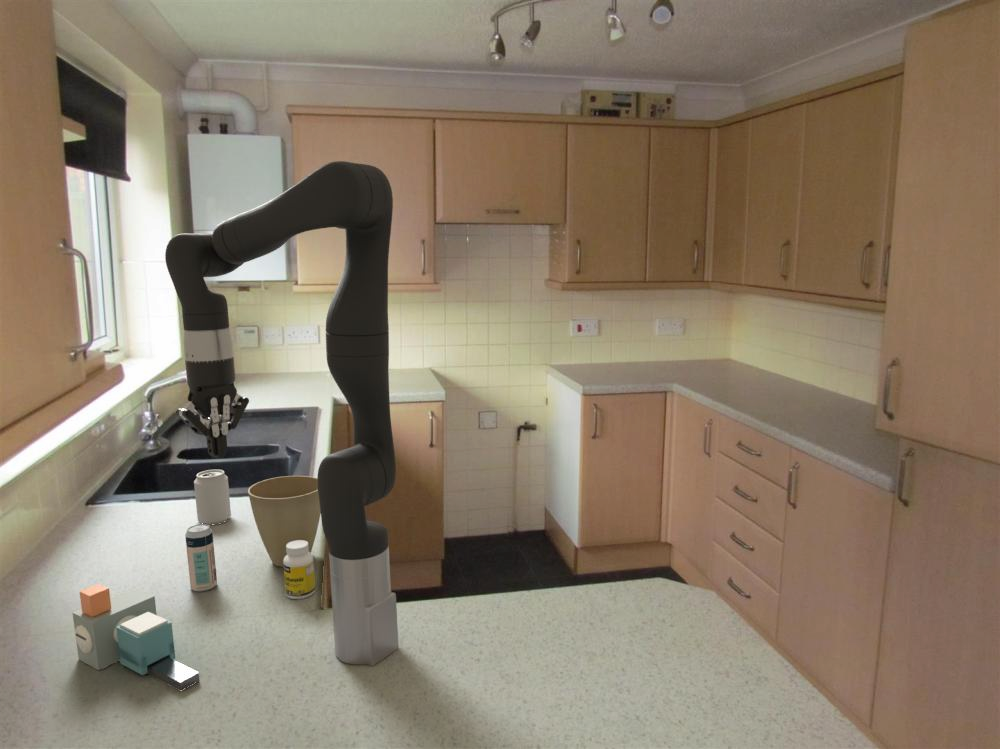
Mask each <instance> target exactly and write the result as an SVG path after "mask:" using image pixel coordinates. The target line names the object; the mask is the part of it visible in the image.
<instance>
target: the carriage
mask: <svg viewBox="0 0 1000 749" xmlns="http://www.w3.org/2000/svg"><path fill="white" fill-rule="evenodd" d="M116 629H117V638H118V646H119V654H120V664H121V665H122V666H125V667H127V668H129V669H130V670H132V671H134V672H136V673H138V674H140V676H144V675H145V674H147V673H148V672H147V666H148V665H150V664H152V663H154V662H156V661H158V660H160V659H161V658H163V657H165V656H167V657H169V658H171V659H173V660H175V659H176V650H175V643H174V631H173V622H172V621H170V620H169V619H166V618H164V617H162V616H159V615H155V614H152V613H150V612H146V613H144V614H142V615H140V616H137V617H135V618H133V619H131V620H128V621H126V622H124V623H122V624H120V626H118V627H116Z"/></svg>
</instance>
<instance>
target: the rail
mask: <svg viewBox="0 0 1000 749" xmlns="http://www.w3.org/2000/svg"><path fill="white" fill-rule="evenodd" d="M147 672H148V674H147V675H149V676H150V675H151V677H152V676H153V677H152V678H154V677H155V679H156V678H157V680H158V679H159V680H158V681H160V680H161V681H160V682H162V681H163V682H162V683H164V682H165V683H164V684H166V683H167V684H169V685H171V686H173V687H175V688H177V689H179V690H183V689H184V688H187V687H188V686H190V685H192V684H194V683H195V682H198V681H200V674H199V671H197V670H195V669H193V668H191V667H188V666H187V665H185V664H183V663H180V662H178V661H176V660H175V659H171V658H169V657H167V656H165V657H163V658H161V659H160V660H158V661H156V662H154V663H152V664H150V665H148V666H147ZM198 683H199V682H198ZM167 684H166V685H167ZM169 685H168V686H169ZM194 685H195V684H194ZM171 686H170V687H171ZM173 687H172V688H173ZM175 688H174V689H175ZM177 689H176V690H177ZM187 689H188V688H187ZM179 690H178V691H179Z"/></svg>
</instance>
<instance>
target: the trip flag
mask: <svg viewBox="0 0 1000 749" xmlns="http://www.w3.org/2000/svg"><path fill="white" fill-rule="evenodd" d="M110 597H111V595H110V588H109V587H107V586H104V585H102V584H100V583H97V584H95V585H91V586H89V587H87V588H85V589H81V590H79V598H80V607H81V608H80V609H82V612H83V613H85V614H87V615H89V616H91V617H94V616H96V615H99V614H101V613H103V612H106V611H108V610H110V609H111V601H110Z"/></svg>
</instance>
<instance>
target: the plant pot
mask: <svg viewBox="0 0 1000 749" xmlns="http://www.w3.org/2000/svg"><path fill="white" fill-rule="evenodd" d="M247 494H248V498H249V503H250V507H251V510H252V515H253V518H254V521H255V525H256V527H257V530H258V533H259V535H260V538H261V541H262V543H263V546H264V548H265V550H266V552H267V554H268V556H269V558H270V561H271V563H272V564H273V565H274V566H277V567H281V568H282V567H283V568H284V565H283V560H284V557H285V556H286V555H287V552H286V545H287V544H288V543H289V542H292V541H296V540H304V541H307V542H308V546H309V551H308V552H310V553H311V554H312V550H313V547H314V544H315V540H316V536H317V533H318V532H317V531H318V528H319V525H320V524H319V523H320V519H321V511H320V503H319V495H318V485H317V477H314V476H308V475H287V476H285V475H284V476H277V477H272V478H268V479H264V480H262V481H261V480H260V481H258V482H256V483H254V484H252V485H250V486H249V488H248V490H247Z"/></svg>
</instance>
